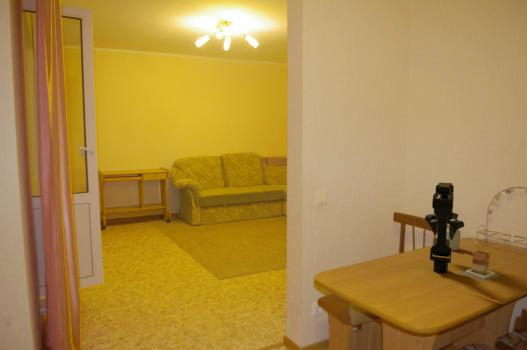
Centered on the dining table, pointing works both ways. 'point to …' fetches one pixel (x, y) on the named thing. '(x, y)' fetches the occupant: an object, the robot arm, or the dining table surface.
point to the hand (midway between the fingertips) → (443, 237)
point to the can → (454, 240)
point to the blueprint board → (484, 278)
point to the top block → (481, 258)
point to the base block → (480, 269)
